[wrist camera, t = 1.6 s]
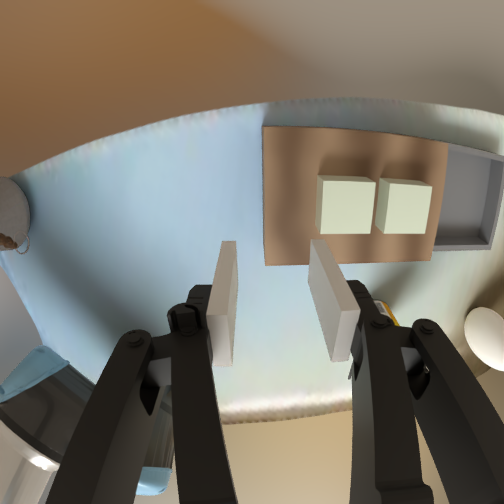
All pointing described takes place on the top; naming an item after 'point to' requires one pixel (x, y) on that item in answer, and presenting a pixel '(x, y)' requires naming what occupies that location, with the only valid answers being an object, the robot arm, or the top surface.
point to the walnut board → (342, 164)
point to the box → (470, 199)
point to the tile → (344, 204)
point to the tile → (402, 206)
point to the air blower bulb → (486, 336)
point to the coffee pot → (13, 216)
